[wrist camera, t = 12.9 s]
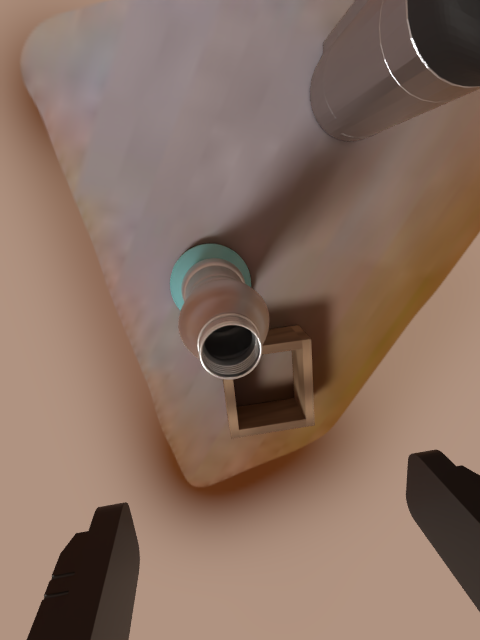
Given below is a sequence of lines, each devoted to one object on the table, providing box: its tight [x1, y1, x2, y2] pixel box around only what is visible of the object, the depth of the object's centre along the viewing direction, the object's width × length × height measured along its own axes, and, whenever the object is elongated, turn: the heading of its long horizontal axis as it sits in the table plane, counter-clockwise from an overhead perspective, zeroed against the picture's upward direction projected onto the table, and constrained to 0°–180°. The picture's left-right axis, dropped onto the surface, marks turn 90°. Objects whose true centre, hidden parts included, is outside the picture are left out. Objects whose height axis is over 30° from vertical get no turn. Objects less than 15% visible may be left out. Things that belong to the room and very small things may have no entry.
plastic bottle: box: [178, 258, 270, 380], centre depth 30 cm, size 6×7×20 cm
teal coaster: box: [170, 243, 251, 311], centre depth 40 cm, size 9×9×1 cm
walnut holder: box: [223, 325, 315, 439], centre depth 42 cm, size 11×10×5 cm
